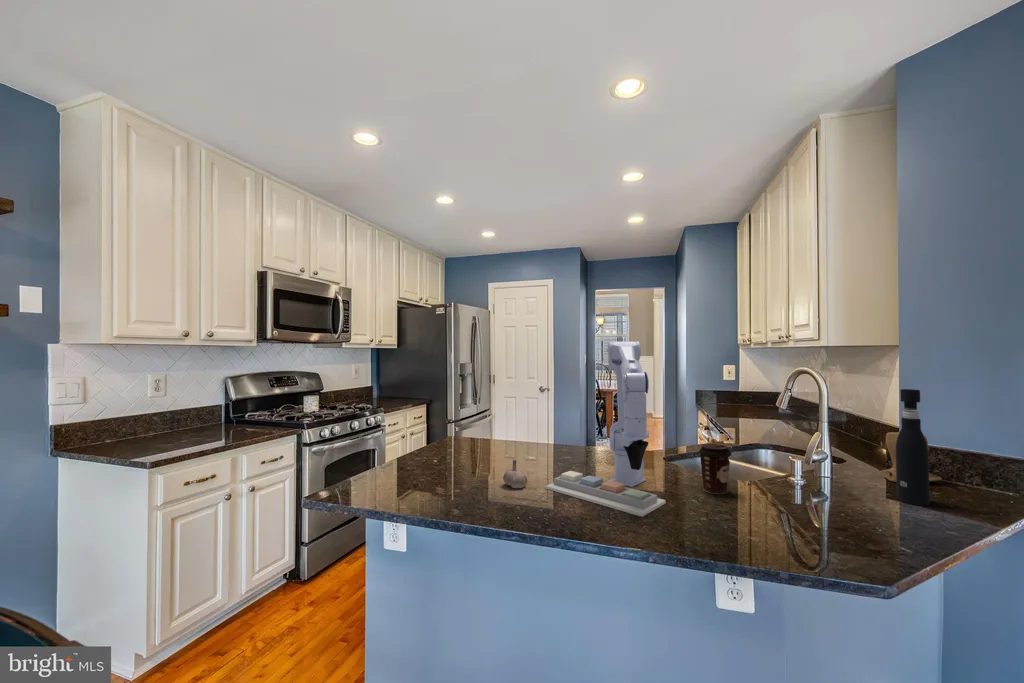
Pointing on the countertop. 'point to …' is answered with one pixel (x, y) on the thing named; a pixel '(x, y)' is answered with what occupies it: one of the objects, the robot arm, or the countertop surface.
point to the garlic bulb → (515, 477)
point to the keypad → (607, 497)
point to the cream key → (571, 476)
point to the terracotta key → (613, 486)
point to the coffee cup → (715, 468)
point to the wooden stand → (891, 446)
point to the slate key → (591, 481)
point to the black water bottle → (912, 454)
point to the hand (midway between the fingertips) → (635, 468)
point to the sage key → (636, 494)
